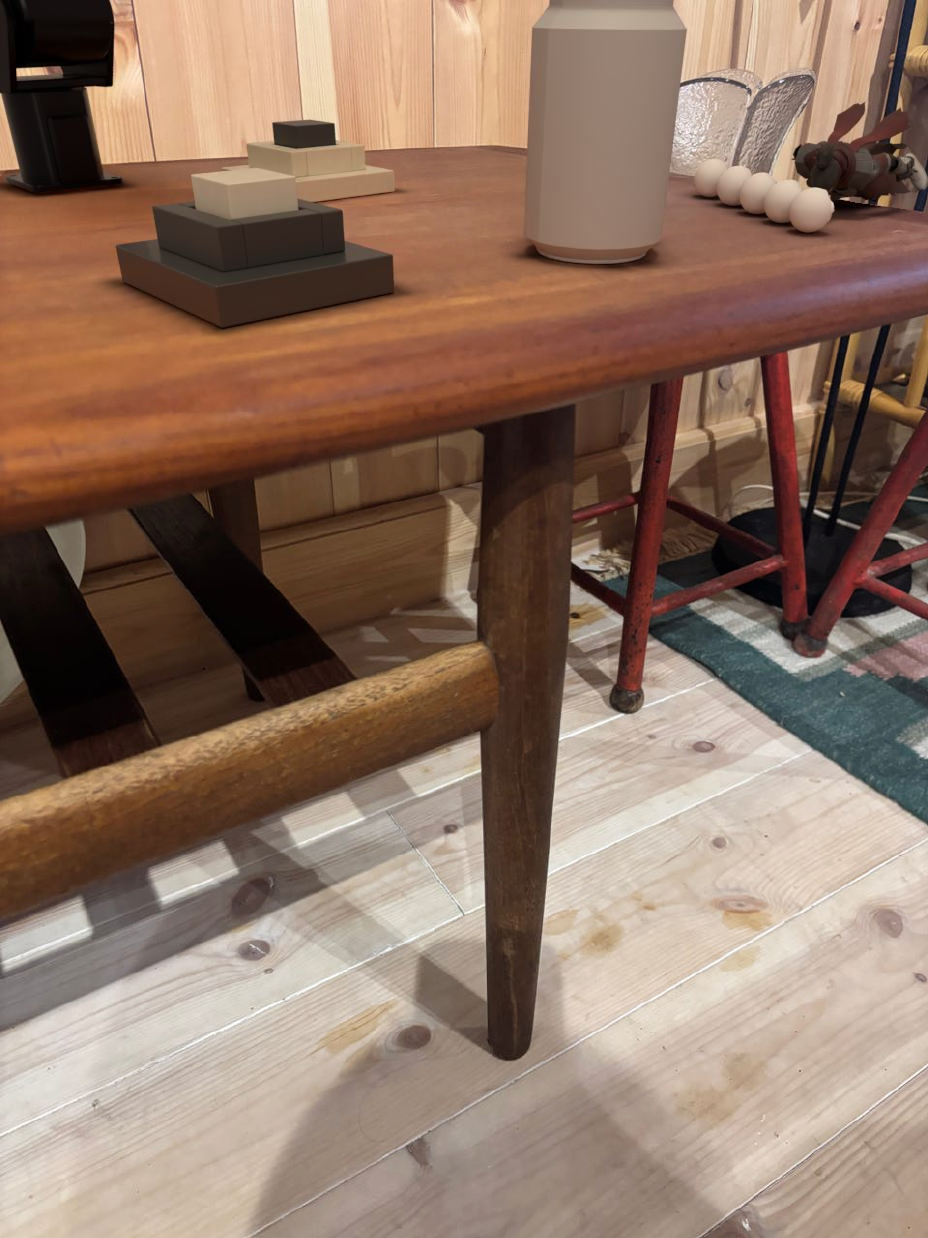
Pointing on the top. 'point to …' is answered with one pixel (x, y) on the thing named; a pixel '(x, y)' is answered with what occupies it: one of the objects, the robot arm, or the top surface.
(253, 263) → the dark grey stepped block
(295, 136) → the black key
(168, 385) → the top surface
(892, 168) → the action figure
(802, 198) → the spheres
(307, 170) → the beige stepped base
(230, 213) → the beige square block
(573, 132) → the can
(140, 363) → the top surface
